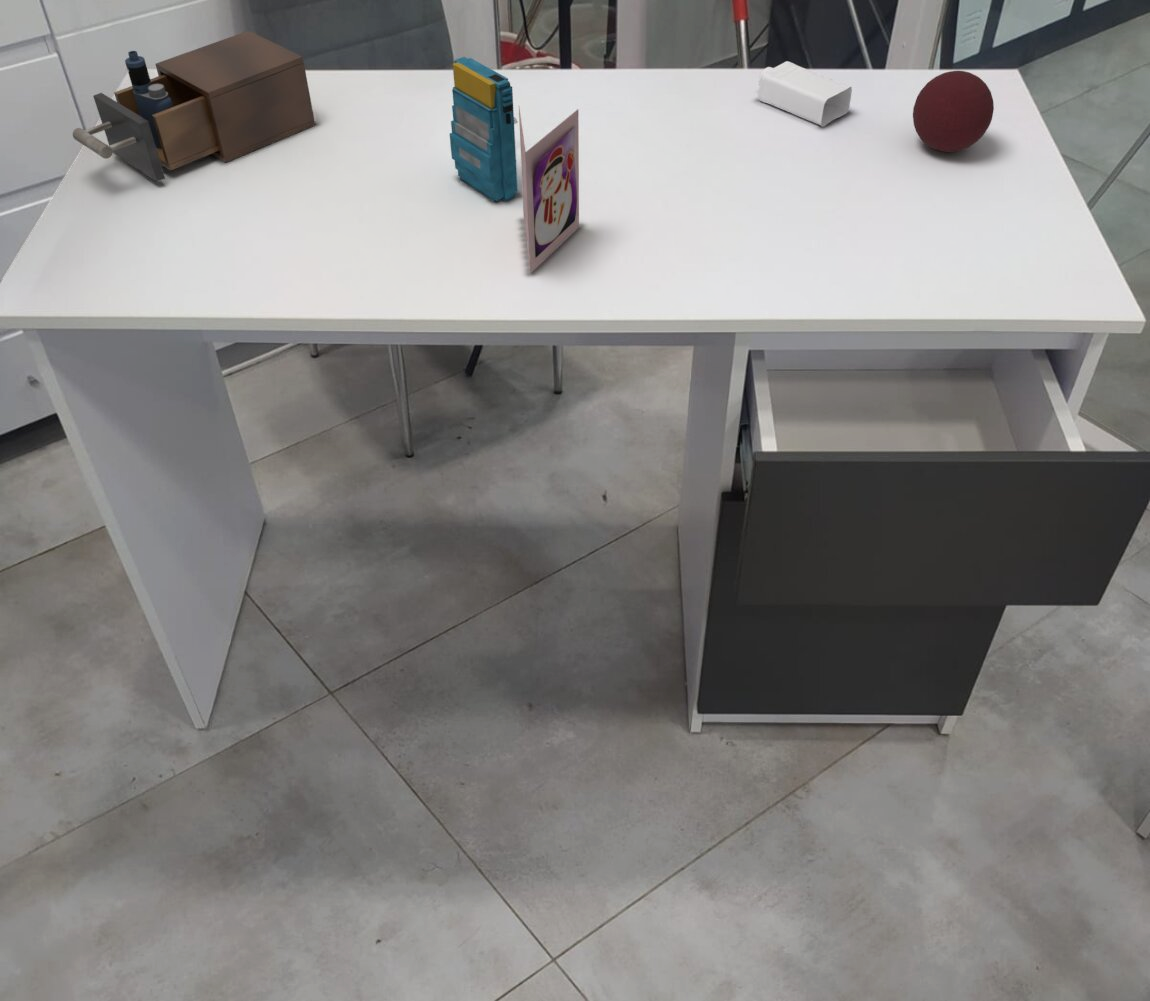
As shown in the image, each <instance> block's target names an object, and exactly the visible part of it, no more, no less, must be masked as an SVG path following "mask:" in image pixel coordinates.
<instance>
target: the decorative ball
mask: <svg viewBox="0 0 1150 1001" xmlns="http://www.w3.org/2000/svg"><path fill="white" fill-rule="evenodd" d="M912 108H913V110H912V120H913V126H914V129H915V132H916V134H917V136H918V137H919V139H920V140H921V141H922V142H923V143H924V144H925V145H927V146H928V147H929V148H931V149H933V150H936V151H939V152H944V153H954V152H960V151H963V150H965V149H967V148H970V147H971V146H973V145H974V144H976V143H977V142H979V141H980V139H982V137H984V135H985V134H986V132H987V131H988V129H989V127H990V126H991V123H992V120H993V116H994V109H995V106H994V98H993V95H992V91H991V90H990V88H989V86H988V84H986V82H985V81H984V80H983V79H981V78H980V76H978V75H976V74H974V73H972V72H968V71H965V70H952V71H946V72H943V73H940V74H939V75H936V76H935V77H933V78H931V80H929V81H928V82H927V83H925V85H924V86H923V88H922V89H920V91H919V93H918V94H917V96H916V99H915V102H914V105H913V107H912Z"/></svg>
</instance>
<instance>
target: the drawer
mask: <svg viewBox="0 0 1150 1001" xmlns="http://www.w3.org/2000/svg"><path fill="white" fill-rule="evenodd" d="M150 81H151V84H163V85H164V88H165V91H166V92H168V96H169V98H171V100H172V104H173V107H172V108H169V109H167V110H164V111H161V112H159V113H156V114H154V115H152V116H153V120H154V123H155V127H156V130H157V134H158V137H159V141H160V144H161V147H162V149H160V148H157V147H156V146H155V142H154V139H153V135H152V132H151V129H150V125H149V122H148V121H147V120H146V119H144V118H142V117H141V116H140V112H139V109H138V106H137V102H136V99H135V96H134V93H133V91H134V90H133V87H132V85H130V86H128V87H125V88H122V89H119V90H117V91H114V92H113V93H114V97H115V100H114V99H112V98H111V97H109V96H108V95H106V94H104V93H103V92H99V93H97V94H94V95H93V100H94V103H95V106H96V109H97V113H98V115H99V118H100V121H101V123H100V124H98V125H95V126H92V127H89V128H87V129H85V130H84V129H83V128H82V127H77V128H75V129H74V130H73V132H72V138H73V139H74V140H75V141H77V142H78V143H80V144H81V145H83V146H84V147H86V148H87V149H89V150H90V151H91V152H94V153H95V154H96V155H98V156H100V157H101V158H102V159H105V160H108V159H110V158H111V157H112V156H113V155H115V156H116V157H119V158H120V159H121V160H123V161H125V162H126V163H127V164H129V165H130V166H132V167H133V168H135V169H137V170H139V171H140V172H141V173H143V174H144V175H145V176H147V177H149V178H151V179H152V180H154V181H155V182H160V181H162V180H164V179H166V177H165V173H164V169H163V167H164V168H166V169H168V170H169V171H174V170H176V169H178V168H180V167H183V166H185V165H188V164H190V163H192V162H195V161H197V160H200V159H202V158H205V157H208V156H209V155H212V153H214V152H217V151H219V150H220V149H219V145H218V141H217V137H216V133H215V129H214V125H213V121H212V117H211V114H210V110H209V106H208V102H207V98H206V96H204V95H202V94H201V93H199V92H197V91H195V90H193V89H191V88H190V87H188V86H186V85H184V84H182V83H181V82H179V81H177V80H175V79H173V78H172V77H170V76H168V75H166V74H164V75H161V76H155V77H152V78H150ZM102 131H104V133H105V137H106V140H107V143H108V144H106V143H105V142H103V141H102V140H100V139H98V138H97V137H95V136H94V135H95V134H97V133H100V132H102Z"/></svg>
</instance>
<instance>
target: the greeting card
mask: <svg viewBox="0 0 1150 1001" xmlns="http://www.w3.org/2000/svg"><path fill="white" fill-rule="evenodd" d="M520 108H521V107H520V106H518V119H519V120H518V122H519V144H520V145H519V146H520V165H521V185H522V186H521V188H522V207H523V208H522V210H523V225H524V233H525V241H526V248H527V256H528V264H529V273H530V274H532V273H533V272H534V271H536V269H537V268H539V267H540V265H542V263H544V262H545V261H546V260H547V259H548V258H549V257H550V256H551V255H552V254H553V253H554V252H555V251H556V250H557V249H558V248H559V247H560V246H561V245H563V243H565V241H566V240H568V239H569V237H570V236H571V235H572V234H574V233H575V232H576V231H577V230H578V229H579V228H580V164H579V162H580V156H579V155H580V152H579V151H580V150H579V149H580V148H579V146H580V144H579V143H580V142H579V141H580V140H579V139H580V138H579V133H580V132H579V131H580V130H579V126H580V125H579V108H577V109H575V111H573V113H571V114H570V115H569V116H568V117H566V118H565V119H564V120H563V121H562V122H560V123H559V124H558V125H557V126H555V127H554V128H552V130H551V131H549V132H548V133H547V134H546V135H545V136H543V137H542V138H541V139H539V141H538V142H537V141H536V143H534V145H533V146H531V147H530V148H529V149H528V150H527V151H526V144H525V136H524V130H523V121H522V114H521V109H520Z"/></svg>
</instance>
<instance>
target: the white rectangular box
mask: <svg viewBox="0 0 1150 1001" xmlns="http://www.w3.org/2000/svg"><path fill="white" fill-rule="evenodd" d="M758 86H759V88H758V95H757V96H758V97H757V98H758V100H759V101H760V102H763V103H765V104H769V105H771V106H773V107H775V108H777V109H781V110H783V111H784V112H785V111H786V112H788V113H790V114H793V115H795V116H797V117H800V118H802V119H804V120H807V121H809V122H811V123H814V124H816V125H818V126H821V127H822V128H823V127H826V126H827V125H828V124H829V123H831V122H832V121H833V122H834V121H835V120H836V119H838V118H841V117H842V116H844V115H846V114H848V112H849V110H850V107H851V100H852V92H853V88H852V86H849V85H846V84H845V83H844V84H843V83H841V82H839V81H837V80H835V79H831V78H829V77H826V76H824V75H823V74H822V75H821V74H819V73H817V72H815V71H813V70H812V71H811V70H810V69H808V68H804V67H803V66H799V65H798V64H795V63H793V62H791V61H788V60H786V61H784V62H782V63H780V64H779V65H777V66H774V67H771V66H766V67H765V68H764V69H763V70H761V73H760V75H759V77H758Z"/></svg>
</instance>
